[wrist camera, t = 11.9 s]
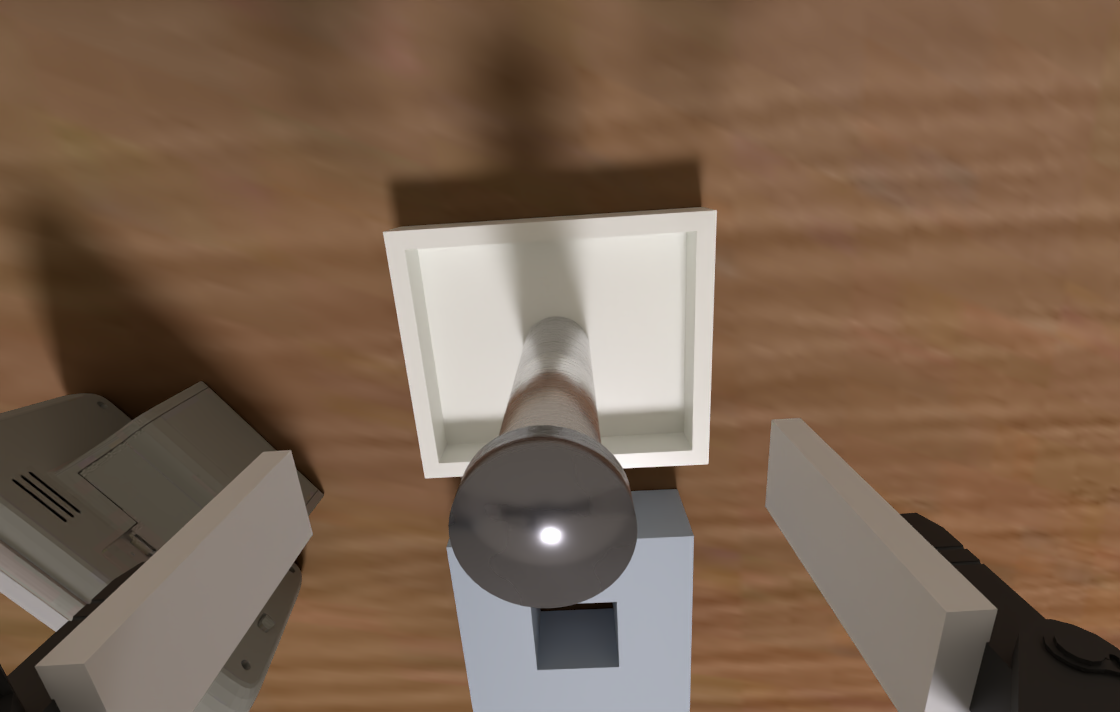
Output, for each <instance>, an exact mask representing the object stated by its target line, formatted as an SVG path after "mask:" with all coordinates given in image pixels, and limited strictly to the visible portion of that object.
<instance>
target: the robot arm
mask: <svg viewBox="0 0 1120 712" xmlns="http://www.w3.org/2000/svg"><path fill="white" fill-rule="evenodd" d="M765 507H766V508H767V510H768V511H769V513H770V514H771V516H772V517H773V519H774V521H775V522H776V524H777V525H778V527H779V528H780V530H781V531H782V533H783V534H784V536H785V537H786V539H787V541H788V542H789V544H790V545H791V547H792V548H793V550H794V551H795V553H796V554H797V556H798V558H799V559H800V561H801V562H802V564H803V565H804V567H805V568H806V570H807V571H808V573H809V575H810V576H811V578H812V579H813V581H814V582H815V584H816V585H817V587H818V588H819V590H820V591H821V593H822V595H823V596H824V598H825V599H826V601H827V602H828V604H829V605H830V607H831V608H832V610H833V612H834V613H835V615H836V616H837V618H838V619H839V621H840V622H841V624H842V625H843V627H844V629H845V630H846V632H847V633H848V635H849V636H850V638H851V639H852V641H853V642H854V644H855V645H856V647H857V649H858V650H859V652H860V653H861V655H862V656H863V658H864V659H865V661H866V662H867V664H868V666H869V667H870V669H871V670H872V672H873V673H874V675H875V676H876V678H877V679H878V681H879V682H880V684H881V686H882V687H883V689H884V690H885V692H886V693H887V695H888V696H889V698H890V699H891V701H892V703H893V704H894V706H895V707H896V709H897V710H898V712H1120V650H1119V649H1118V648H1116V647H1115V646H1113V645H1112V644H1110V643H1108V642H1107V641H1105V640H1104V639H1102V638H1101V637H1099V636H1097V635H1096V634H1093V633H1091V632H1089V631H1086V630H1084V629H1082V628H1080V627H1077V626H1075V625H1072V624H1068V623H1064V622H1060V621H1056V620H1052V619H1045V618H1044V617H1043V616H1042V615H1040V614H1039V613H1038V612H1037V611H1036V610H1035V609H1034V608H1033V607H1031V606H1030V605H1029V604H1028V603H1027V602H1026V601H1025V600H1024V599H1023V598H1021V597H1020V596H1019V595H1018V594H1017V593H1016V592H1015V591H1014V590H1012V589H1011V588H1010V587H1009V586H1008V585H1007V584H1006V583H1005V582H1003V581H1002V580H1001V579H1000V578H999V577H998V576H997V575H996V574H995V573H993V572H992V571H991V570H990V569H989V568H988V567H987V566H986V565H984V564H981V563H980V560H979V559H978V558H977V557H976V556H974V555H973V554H972V553H971V552H970V551H969V550H968V549H964V548H963V545H962V544H961V543H960V542H959V541H958V540H956V539H955V538H954V537H953V536H952V535H951V534H950V533H949V532H948V531H946V530H945V529H944V528H943V527H941V526H939V525H938V524H936V523H934V522H932V521H930V520H928V519H927V518H925V517H923V516H921V515H919V514H917V513H907V514H899V513H898V512H897V511H896V510H895V509H894V508H893V507H892V506H891V505H890V504H888V503H887V502H886V501H885V500H884V499H883V498H882V497H881V496H880V495H879V494H878V493H877V492H876V491H875V490H874V489H873V488H872V487H871V486H870V485H869V484H868V483H867V482H866V481H865V480H864V479H863V478H862V477H861V476H860V475H858V474H857V473H856V472H855V471H854V470H853V469H852V468H851V467H850V466H849V465H848V464H847V463H846V462H845V461H844V460H843V459H842V458H841V457H840V456H839V455H838V454H837V453H836V452H835V451H834V450H833V449H832V448H831V447H830V446H828V445H827V444H826V443H825V442H824V441H823V440H822V439H821V438H820V437H819V436H818V435H817V434H816V433H815V432H814V431H813V430H812V429H811V428H810V427H809V426H808V425H807V424H806V423H805V422H804V421H803V420H802V419H801V418H792V419H776V420H772V423H771V436H770V450H769V464H768V477H767V491H766V504H765ZM312 535H313V533H312V529H311V525H310V521H309V517H308V514H307V510H306V506H305V502H304V498H303V494H302V490H301V487H300V483H299V479H298V475H297V471H296V467H295V463H294V459H293V456H292V452H291V450H284V451H268V452H263V453H261V454H260V455H259V456H258V457H257V458H256V459H255V460H254V461H253V462H252V463H251V464H250V465H249V466H248V467H247V468H245V469H244V470H243V471H242V472H241V473H240V474H239V475H238V476H237V477H236V478H235V479H234V480H233V481H232V482H231V483H229V484H228V485H227V486H226V487H225V488H224V489H223V490H222V491H221V492H220V493H219V494H218V495H217V496H216V497H215V498H214V499H212V500H211V501H210V502H209V503H208V504H207V505H206V506H205V507H204V508H203V509H202V510H201V511H200V512H199V513H198V514H196V515H195V516H194V517H193V518H192V519H191V520H190V521H189V522H188V523H187V524H186V525H185V526H184V527H183V528H182V529H180V530H179V531H178V532H177V533H176V534H175V535H174V536H173V537H172V538H171V539H170V540H169V541H168V542H167V543H166V544H165V545H163V546H162V547H161V548H160V549H159V550H158V551H157V552H156V553H155V554H154V555H153V556H152V557H151V558H150V559H149V560H147V561H146V562H141V563H139V564H138V565H136V566H134V567H133V568H131V569H130V570H128V571H127V572H125V573H123V574H122V575H120V576H119V577H117V578H115V579H114V580H113V581H111V582H110V583H109V584H108V585H107V586H106V587H105V588H104V589H103V590H102V591H100V592H99V593H98V594H97V595H96V596H95V597H94V598H93V599H92V600H91V603H90V604H86V605H85V606H84V607H83V608H82V609H81V610H80V611H78V612H77V613H76V614H75V615H74V616H73V619H72V621H67V622H66V623H65V624H64V625H63V626H62V627H61V628H60V629H59V630H58V631H57V632H55V633H54V634H53V635H52V636H51V637H50V638H49V639H48V640H47V641H46V642H44V643H43V644H42V645H41V646H40V647H39V648H38V649H37V650H36V651H35V652H33V653H32V654H31V655H30V656H29V657H28V658H27V659H26V660H25V661H24V662H22V663H21V664H20V665H19V666H18V667H17V668H16V669H15V670H14V671H13V672H11V673H10V674H9V675H8V676H6V674H5V672H4V670H3V669H2V667H1V665H0V712H193V710H194V709H195V707H196V706H197V704H198V703H199V701H200V700H201V698H202V697H203V696H204V694H205V693H206V691H207V690H208V688H209V687H210V685H211V684H212V682H213V681H214V679H215V678H216V676H217V675H218V673H219V672H220V670H221V669H222V667H223V666H224V665H225V663H226V662H227V660H228V659H229V657H230V656H231V654H232V653H233V651H234V650H235V648H236V647H237V645H238V644H239V642H240V641H241V639H242V638H243V637H244V635H245V634H246V632H247V631H248V629H249V628H250V626H251V625H252V623H253V622H254V620H255V619H256V617H257V616H258V614H259V613H260V611H261V610H262V608H263V607H264V606H265V604H266V603H267V601H268V600H269V598H270V597H271V595H272V594H273V592H274V591H275V589H276V588H277V586H278V585H279V583H280V582H281V580H282V579H283V578H284V576H285V575H286V573H287V572H288V570H289V569H290V567H291V566H292V564H293V563H294V561H295V560H296V558H297V557H298V555H299V554H300V552H301V551H302V549H303V548H304V547H305V545H306V544H307V542H308V541H309V539H310V538H311V536H312Z"/></svg>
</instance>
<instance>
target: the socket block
mask: <svg viewBox="0 0 1120 712" xmlns="http://www.w3.org/2000/svg"><path fill="white" fill-rule="evenodd" d="M631 494H632V499H633V504H634V509H635V514H636V519H637V542H636V546H635V550H634V553H633V556H632V558H631V561H630V562H629V564H628V566H627V567H626V569H625V571H624V572H623V573H622V574H621V576H620V577H619V578H618V579H617V580H616V581H615V582H614V583H613V584H612V585H611V586H610V587H608V588H607V589H605V590H604V591H603V592H601V593H600V594H598V595H596V596H594V597H592V598H590V599H588V600H585V601H583V602H580V603H603V602H613V608H611V609H587V610H563V611H541V610H540V608H533V607H526V606H521V605H517V604H513V603H510V602H507V601H505V600H502V599H500V598H498V597H496V596H494V595H492V594H490V593H489V592H487V591H486V590H484V589H482V588H481V587H480V586H479V585H478V584H476V583H475V582H474V581H473V580H472V579H471V578H470V577H469V576H468V575H467V574H466V572H465V571H464V570H463V568H462V567H461V566H460V564H459V562H458V560H457V559H456V557H455V554H454V552H453V549H452V546H451V542H450V538H449V541H448V544H447V553H448V560H449V566H450V572H451V578H452V584H453V590H454V596H455V602H456V609H457V615H458V621H459V627H460V633H461V639H462V645H463V652H464V658H465V664H466V670H467V676H468V682H469V688H470V695H471V701H472V707H473V712H690V677H691V634H692V591H693V548H694V535H693V533H692V530H691V527H690V524H689V521H688V518H687V516H686V513H685V510H684V507H683V504H682V502H681V499H680V496H679V493H678V490H677V489H667V490H646V491H631ZM577 604H579V603H577Z"/></svg>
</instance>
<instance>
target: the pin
mask: <svg viewBox="0 0 1120 712" xmlns="http://www.w3.org/2000/svg"><path fill="white" fill-rule="evenodd" d="M449 537H450V542H451V546H452V549H453V552H454V554H455V557H456V559H457V560H458V562H459V564H460V566H461V567H462V568H463V570H464V571H465V572H466V574H467V575H468V576H469V577H470V578H471V579H472V580H473V581H474V582H475V583H476V584H478V585H479V586H480V587H481V588H482V589H484V590H486V591H487V592H489V593H490V594H492V595H494V596H496V597H498V598H500V599H502V600H505V601H507V602H510V603H513V604H517V605H521V606H526V607H533V608H558V607H564V606H570V605H574V604H577V603H580V602H583V601H585V600H588V599H590V598H592V597H594V596H596V595H598V594H600V593H601V592H603V591H604V590H605V589H607V588H608V587H610V586H611V585H612V584H613V583H614V582H615V581H616V580H617V579H618V578H619V577H620V576H621V574H622V573H623V572H624V571H625V569H626V567H627V566H628V564H629V562H630V561H631V558H632V556H633V553H634V550H635V546H636V542H637V519H636V514H635V509H634V504H633V499H632V494H631V489H630V485H629V481H628V479H627V476H626V473H625V471H624V470H623V468H622V466H621V464H620V463H619V461H618V460H617V459H616V458H615V456H614V455H613V454H612V453H611V452H610V451H609V450H608V449H607V448H606V447H605V446H603V445H602V444H601V438H600V429H599V421H598V413H597V405H596V396H595V388H594V380H593V371H592V363H591V355H590V346H589V340H588V337H587V335H586V333H585V331H584V330H583V328H582V327H581V326H580V325H579V324H577V323H576V322H575V321H573V320H571V319H569V318H565V317H560V316H554V317H548V318H545V319H542V320H541V321H539V322H537V323H536V324H535V325H534V326H533V327H532V328H531V329H530V331H529V332H528V334H527V336H526V339H525V343H524V346H523V350H522V354H521V357H520V361H519V364H518V368H517V372H516V375H515V379H514V382H513V386H512V390H511V393H510V397H509V400H508V404H507V408H506V411H505V415H504V418H503V422H502V426H501V429H500V433H499V436H498V437H496V438H495V439H493V440H492V441H490V442H489V443H487V444H486V445H485V446H484V447H483V448H481V449H480V450H479V451H478V452H477V454H476V455H475V456H474V457H473V458H472V460H471V461H470V463H469V464H468V466H467V468H466V470H465V472H464V475H463V477H462V480H461V482H460V485H459V488H458V491H457V494H456V496H455V499H454V502H453V505H452V508H451V512H450V517H449Z"/></svg>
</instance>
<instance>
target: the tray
mask: <svg viewBox="0 0 1120 712" xmlns="http://www.w3.org/2000/svg"><path fill="white" fill-rule="evenodd" d="M716 216H717V210H713V209H709V208H704V207H693V208H678V209H663V210H647V211H632V212H617V213H601V214H586V215H571V216H555V217H540V218H525V219H509V220H494V221H479V222H463V223H448V224H433V225H417V226H402V227H398V228H394V229H391V230H388V231H385V232H383V234H384V240H385V246H386V252H387V258H388V264H389V270H390V276H391V281H392V287H393V293H394V299H395V305H396V311H397V317H398V323H399V328H400V334H401V340H402V346H403V352H404V358H405V364H406V369H407V375H408V381H409V387H410V393H411V399H412V405H413V411H414V416H415V422H416V428H417V434H418V440H419V446H420V452H421V458H422V463H423V469H424V475H425V478H441V477H461V476H463V475H464V472H465V470H466V468H467V466H468V464H469V463H470V461H471V460H472V458H473V457H474V456H475V455H476V454H477V452H478V451H479V450H480V449H481V448H483V447H484V446H485V445H486V444H487V443H489V442H490V441H492V440H493V439H495V438H496V437H498V436H499V433H500V429H501V426H502V422H503V418H504V415H505V411H506V408H507V404H508V400H509V397H510V393H511V390H512V386H513V382H514V379H515V375H516V372H517V368H518V364H519V361H520V357H521V354H522V350H523V346H524V343H525V339H526V336H527V334H528V332H529V331H530V329H531V328H532V327H533V326H534V325H535V324H536V323H537V322H539V321H541V320H542V319H545V318H548V317H554V316H560V317H565V318H569V319H571V320H573V321H575V322H576V323H577V324H579V325H580V326H581V327H582V328H583V330H584V331H585V333H586V335H587V337H588V340H589V346H590V355H591V363H592V371H593V380H594V388H595V396H596V405H597V413H598V421H599V429H600V438H601V444H602V445H603V446H605V447H606V448H607V449H608V450H609V451H610V452H611V453H612V454H613V455H614V456H615V458H616V459H617V460H618V461H619V463H620V464H621V466H622V468H641V467H661V466H681V465H701V464H708V462H709V431H710V401H711V370H712V339H713V309H714V278H715V247H716Z"/></svg>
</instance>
